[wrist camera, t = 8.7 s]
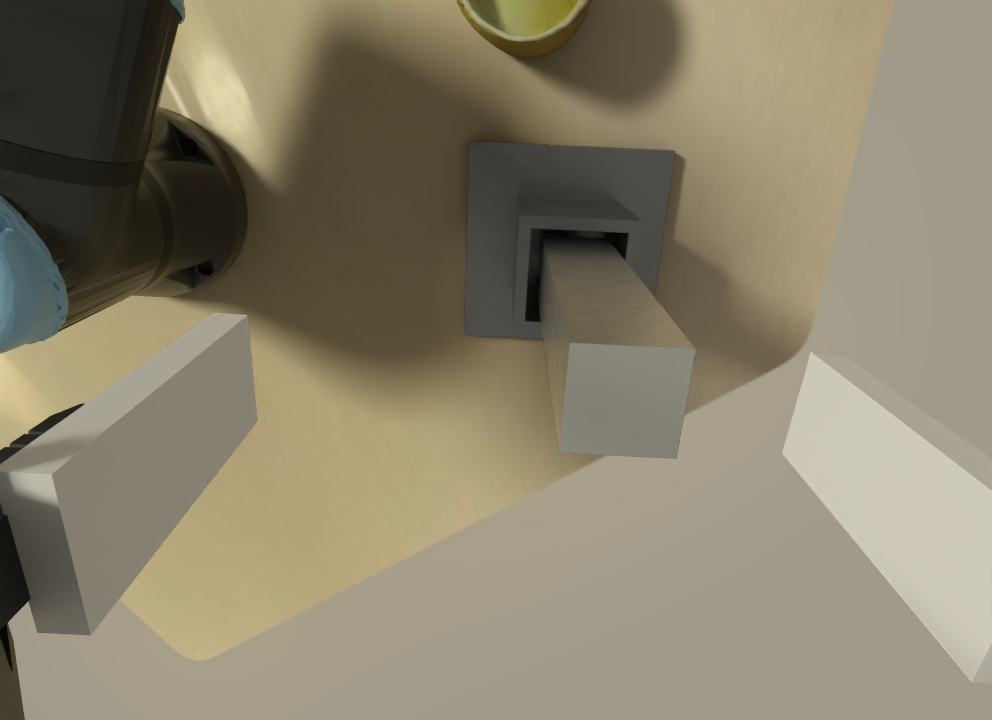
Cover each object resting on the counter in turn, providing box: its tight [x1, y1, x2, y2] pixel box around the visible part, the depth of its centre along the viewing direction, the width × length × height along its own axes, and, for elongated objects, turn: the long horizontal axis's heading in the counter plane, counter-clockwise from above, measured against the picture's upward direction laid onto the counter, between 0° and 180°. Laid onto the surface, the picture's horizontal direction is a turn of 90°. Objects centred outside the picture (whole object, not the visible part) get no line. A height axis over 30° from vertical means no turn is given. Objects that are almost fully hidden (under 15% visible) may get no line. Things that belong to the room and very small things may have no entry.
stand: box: [464, 141, 675, 339], centre depth 46 cm, size 16×16×11 cm
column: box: [537, 235, 696, 458], centre depth 33 cm, size 5×5×22 cm
